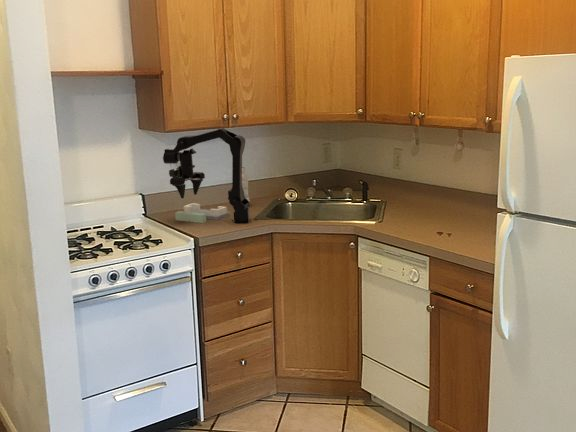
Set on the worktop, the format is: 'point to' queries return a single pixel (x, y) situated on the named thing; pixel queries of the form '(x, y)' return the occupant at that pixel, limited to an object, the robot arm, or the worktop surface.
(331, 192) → the worktop surface
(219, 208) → the cradle
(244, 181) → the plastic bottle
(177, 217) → the pale green bar
